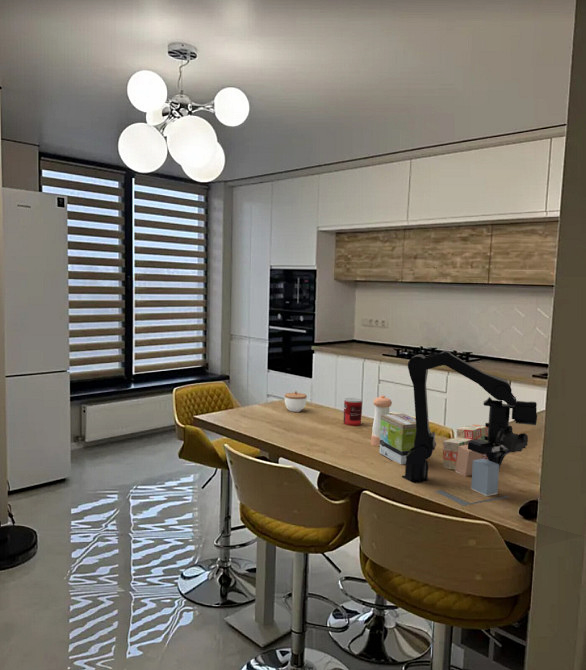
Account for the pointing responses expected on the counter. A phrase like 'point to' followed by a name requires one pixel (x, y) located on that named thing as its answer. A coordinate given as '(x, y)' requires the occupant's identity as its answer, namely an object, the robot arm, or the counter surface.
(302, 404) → the lidded jar
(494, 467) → the slate blue block
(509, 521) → the counter surface
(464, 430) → the stack of blocks
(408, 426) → the tea box
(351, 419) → the canned food
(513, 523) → the counter surface
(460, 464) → the dusty pink block
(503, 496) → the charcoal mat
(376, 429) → the salt shaker
